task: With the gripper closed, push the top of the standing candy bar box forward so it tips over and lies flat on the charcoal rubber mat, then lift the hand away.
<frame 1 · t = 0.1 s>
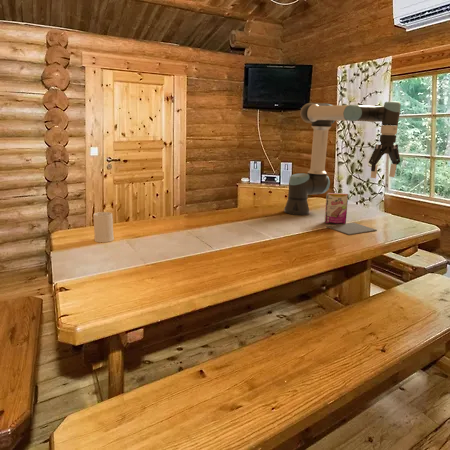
hand: (382, 177, 200), 28 cm above the table, tool pointing down, fingers open, 13 cm apart
rubber mat: (351, 229, 208), on the table
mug: (103, 239, 179), on the table
candy bar box: (335, 223, 218), on the table, touching rubber mat
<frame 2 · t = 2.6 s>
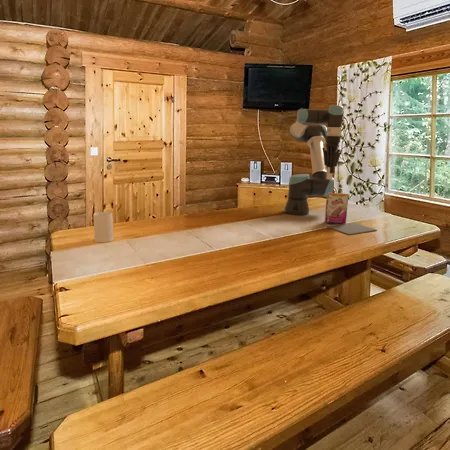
hand: (329, 178, 219), 24 cm above the table, tool pointing down, fingers closed
nothing on the table moved.
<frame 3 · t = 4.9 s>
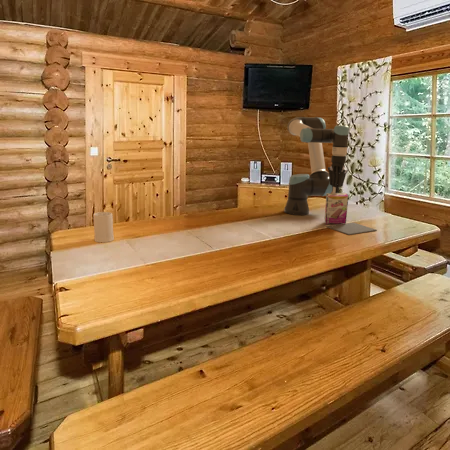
hand: (334, 198, 217), 14 cm above the table, tool pointing down, fingers closed
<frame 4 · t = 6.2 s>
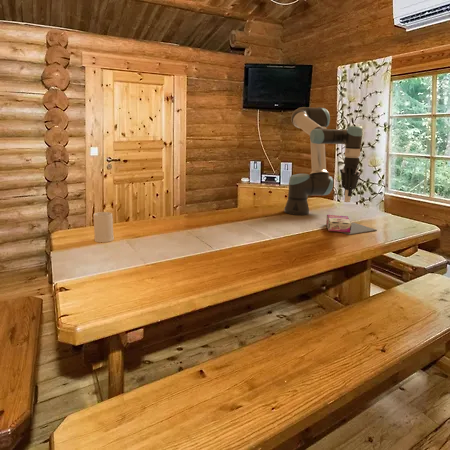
hand: (347, 201, 209), 14 cm above the table, tool pointing down, fingers closed
candy bar box: (336, 219, 215), point 3 cm above the table, touching rubber mat
everything else where it was.
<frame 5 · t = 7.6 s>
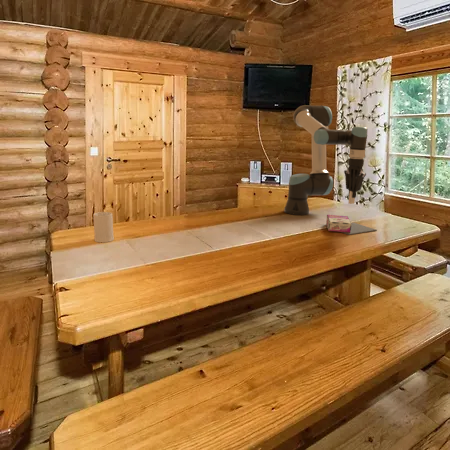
hand: (351, 203, 207), 13 cm above the table, tool pointing down, fingers closed
nothing on the table moved.
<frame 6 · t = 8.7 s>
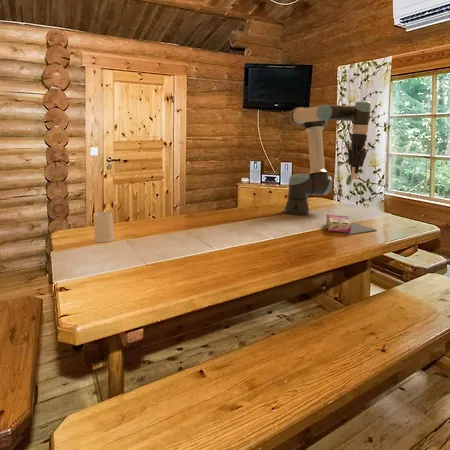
hand: (353, 179, 207), 26 cm above the table, tool pointing down, fingers closed
nothing on the table moved.
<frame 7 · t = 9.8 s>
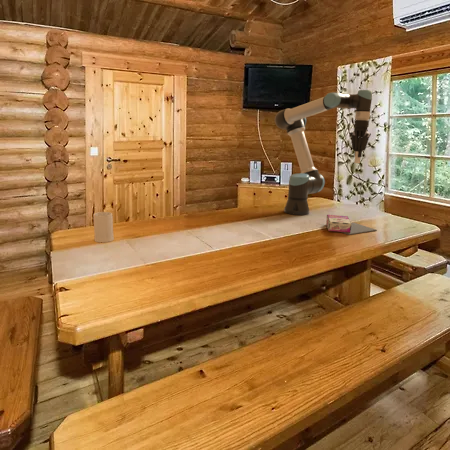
hand: (357, 163, 222), 32 cm above the table, tool pointing down, fingers closed
nothing on the table moved.
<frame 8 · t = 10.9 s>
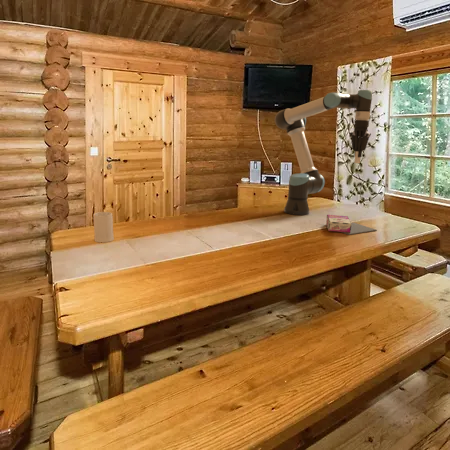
hand: (357, 163, 222), 32 cm above the table, tool pointing down, fingers closed
nothing on the table moved.
at the end: candy bar box tilted 89°; candy bar box touching rubber mat; candy bar box inside the target area (6.7 cm from its centre), point 3.0 cm above the table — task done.
